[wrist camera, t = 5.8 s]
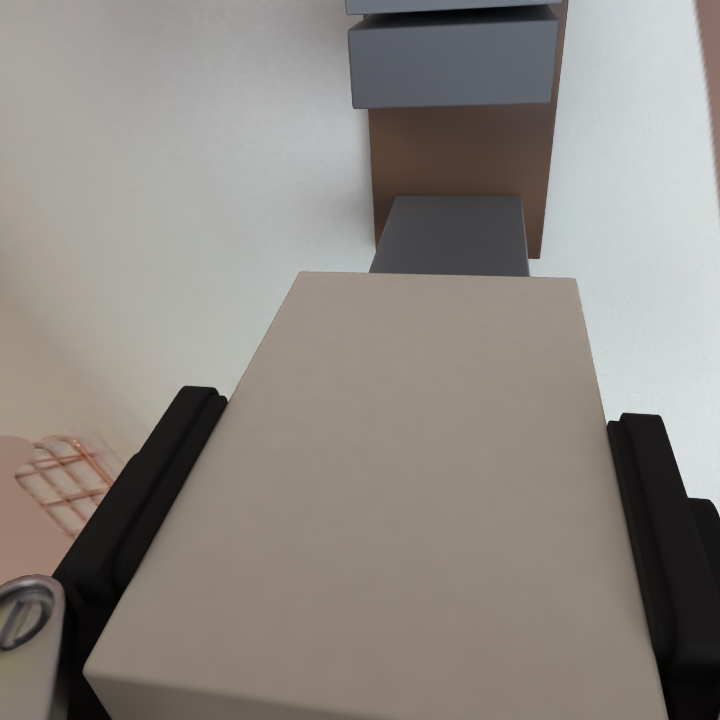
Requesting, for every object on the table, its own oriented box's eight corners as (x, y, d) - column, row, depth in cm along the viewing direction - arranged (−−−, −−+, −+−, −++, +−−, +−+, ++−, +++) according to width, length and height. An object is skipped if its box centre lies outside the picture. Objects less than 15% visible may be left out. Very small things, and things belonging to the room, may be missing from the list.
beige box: (299, 269, 15) (76, 672, 7) (576, 276, 14) (682, 769, 6) (309, 350, 16) (135, 761, 8) (563, 362, 15) (634, 854, 7)
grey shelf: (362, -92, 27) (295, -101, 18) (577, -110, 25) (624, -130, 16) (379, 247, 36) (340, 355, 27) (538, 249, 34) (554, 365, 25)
